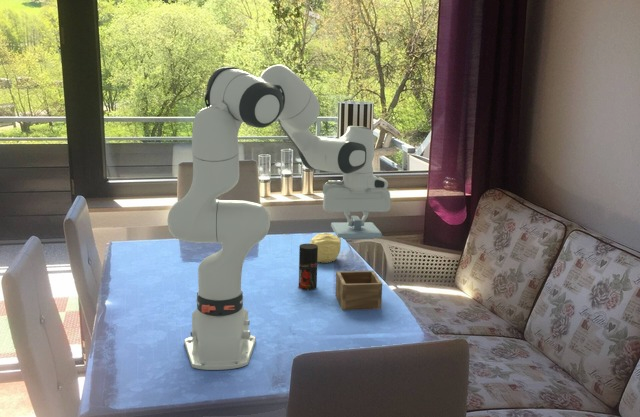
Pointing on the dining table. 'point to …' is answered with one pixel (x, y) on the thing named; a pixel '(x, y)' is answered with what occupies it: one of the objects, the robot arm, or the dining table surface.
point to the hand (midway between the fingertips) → (355, 225)
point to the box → (358, 290)
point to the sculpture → (327, 247)
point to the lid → (356, 230)
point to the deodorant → (308, 266)
